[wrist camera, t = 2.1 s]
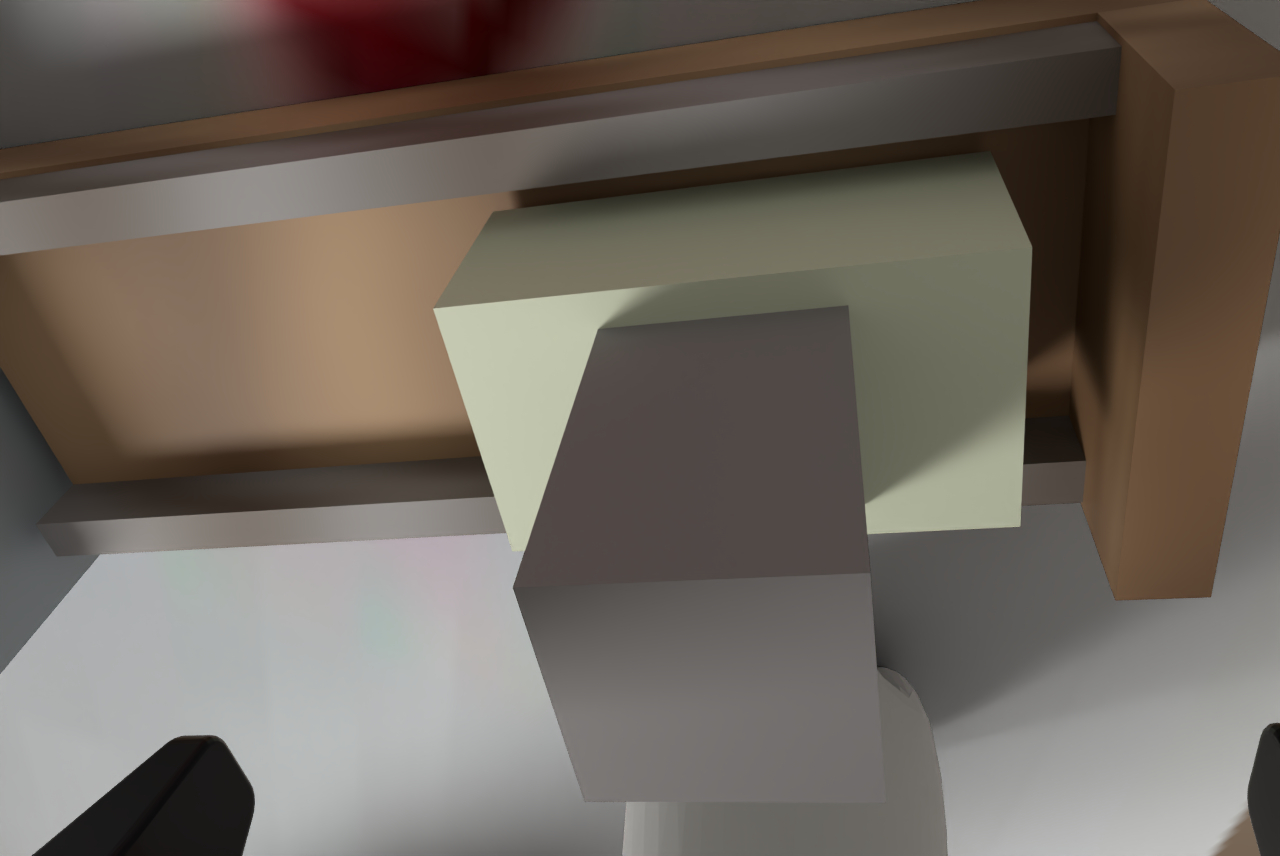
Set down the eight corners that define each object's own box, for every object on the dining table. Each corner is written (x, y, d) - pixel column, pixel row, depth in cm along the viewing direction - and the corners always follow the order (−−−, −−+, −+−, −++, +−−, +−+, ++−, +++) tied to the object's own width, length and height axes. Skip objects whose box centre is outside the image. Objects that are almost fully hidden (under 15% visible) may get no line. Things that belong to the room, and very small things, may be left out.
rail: (134, 474, 21) (-10, 638, 18) (-47, 155, 18) (-282, 278, 14) (1121, 404, 17) (1211, 597, 14) (1166, -28, 14) (1309, 71, 10)
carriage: (553, 432, 17) (417, 828, 11) (492, 211, 15) (279, 555, 9) (985, 400, 16) (1104, 836, 10) (989, 151, 13) (1147, 510, 7)
